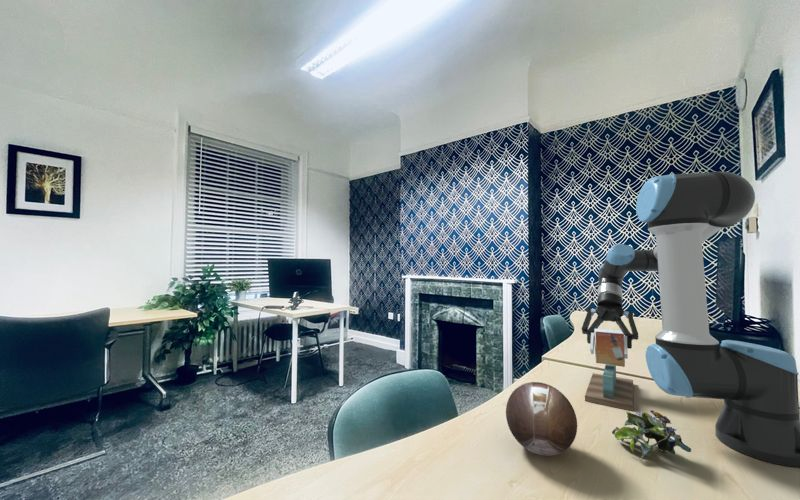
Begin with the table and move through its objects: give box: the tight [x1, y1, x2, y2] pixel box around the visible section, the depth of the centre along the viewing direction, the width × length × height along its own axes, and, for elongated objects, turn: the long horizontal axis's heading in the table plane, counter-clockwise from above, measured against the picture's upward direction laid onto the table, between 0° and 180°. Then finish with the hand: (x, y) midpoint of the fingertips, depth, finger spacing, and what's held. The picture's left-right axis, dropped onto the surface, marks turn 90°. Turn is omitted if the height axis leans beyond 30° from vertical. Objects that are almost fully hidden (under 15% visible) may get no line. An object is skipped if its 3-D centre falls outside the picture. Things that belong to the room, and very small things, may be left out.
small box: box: [594, 328, 626, 368], centre depth 106 cm, size 8×6×10 cm
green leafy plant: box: [611, 409, 692, 459], centre depth 72 cm, size 11×11×12 cm
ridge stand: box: [584, 364, 634, 412], centre depth 106 cm, size 24×12×8 cm, turn 144°
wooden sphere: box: [505, 381, 578, 457], centre depth 74 cm, size 15×15×15 cm
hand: (608, 353), depth 103 cm, fingers closed on small box, 8 cm apart
